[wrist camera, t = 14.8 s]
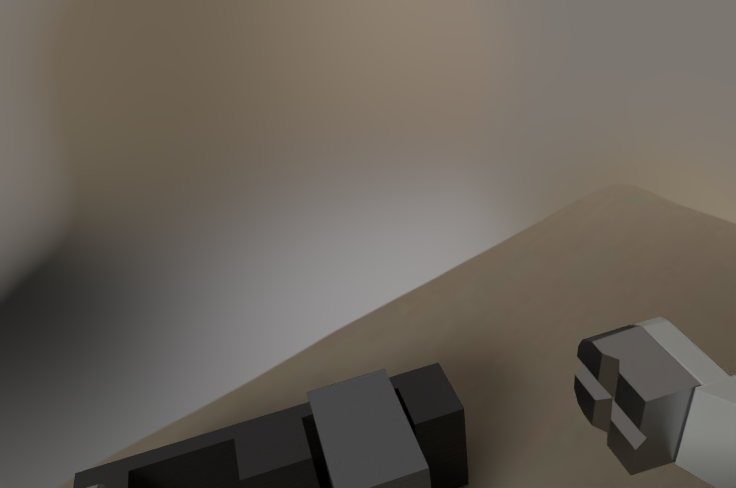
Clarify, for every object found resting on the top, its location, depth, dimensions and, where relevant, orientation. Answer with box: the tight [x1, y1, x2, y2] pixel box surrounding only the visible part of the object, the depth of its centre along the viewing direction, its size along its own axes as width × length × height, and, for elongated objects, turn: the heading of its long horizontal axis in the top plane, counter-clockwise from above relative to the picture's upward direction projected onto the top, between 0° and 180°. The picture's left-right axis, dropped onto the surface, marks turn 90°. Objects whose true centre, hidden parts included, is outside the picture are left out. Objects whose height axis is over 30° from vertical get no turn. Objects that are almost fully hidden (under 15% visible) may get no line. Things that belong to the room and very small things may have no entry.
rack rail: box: [74, 363, 469, 488], centre depth 38 cm, size 22×4×7 cm, turn 106°
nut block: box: [307, 369, 431, 488], centre depth 35 cm, size 4×7×10 cm, turn 16°
